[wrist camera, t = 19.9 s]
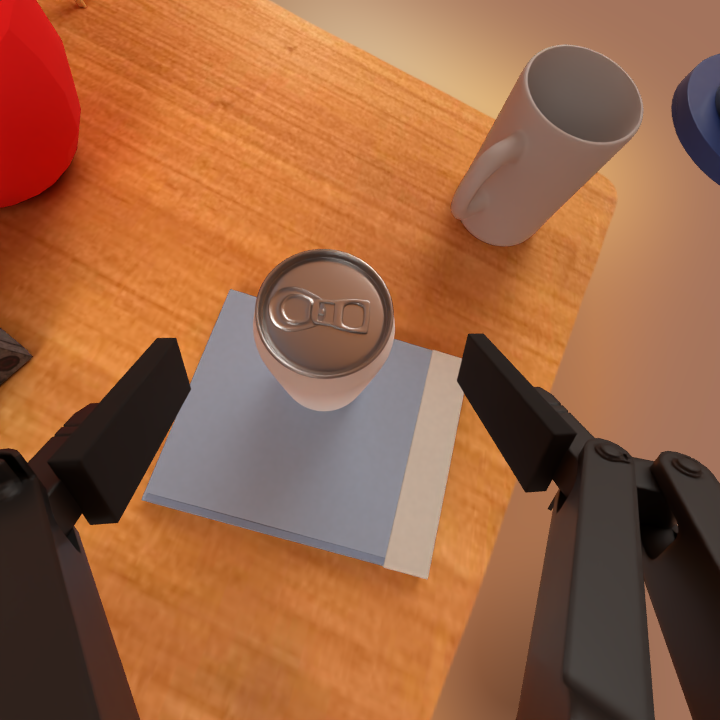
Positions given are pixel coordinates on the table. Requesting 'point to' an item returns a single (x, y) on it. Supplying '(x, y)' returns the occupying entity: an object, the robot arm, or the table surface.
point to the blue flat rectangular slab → (314, 451)
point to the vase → (33, 103)
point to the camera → (11, 356)
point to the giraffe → (80, 3)
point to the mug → (547, 142)
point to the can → (324, 326)
